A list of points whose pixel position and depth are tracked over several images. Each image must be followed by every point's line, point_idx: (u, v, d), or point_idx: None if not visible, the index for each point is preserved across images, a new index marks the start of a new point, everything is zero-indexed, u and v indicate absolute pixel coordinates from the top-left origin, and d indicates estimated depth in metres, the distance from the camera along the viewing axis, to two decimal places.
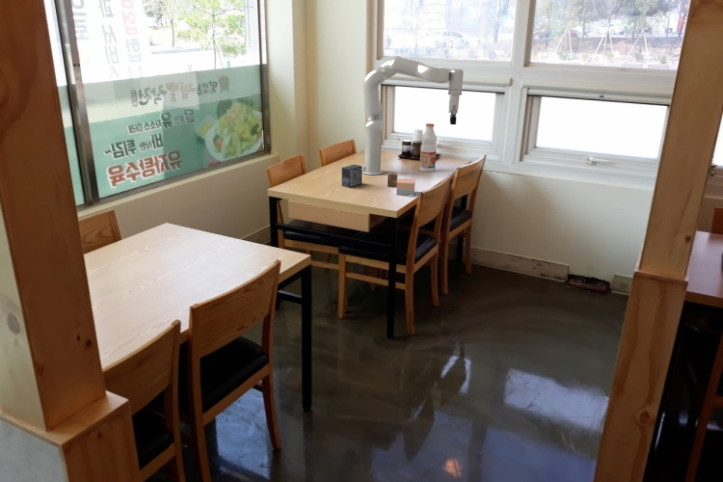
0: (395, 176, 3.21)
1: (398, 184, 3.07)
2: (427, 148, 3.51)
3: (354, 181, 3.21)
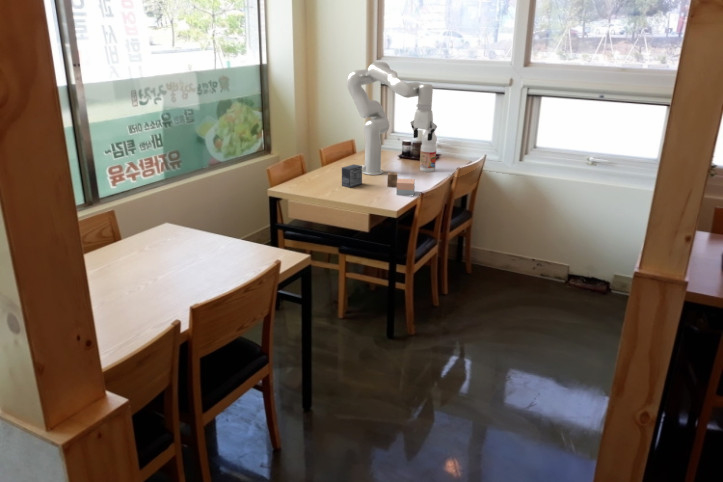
0: (395, 176, 3.21)
1: (398, 184, 3.07)
2: (427, 148, 3.51)
3: (354, 181, 3.21)
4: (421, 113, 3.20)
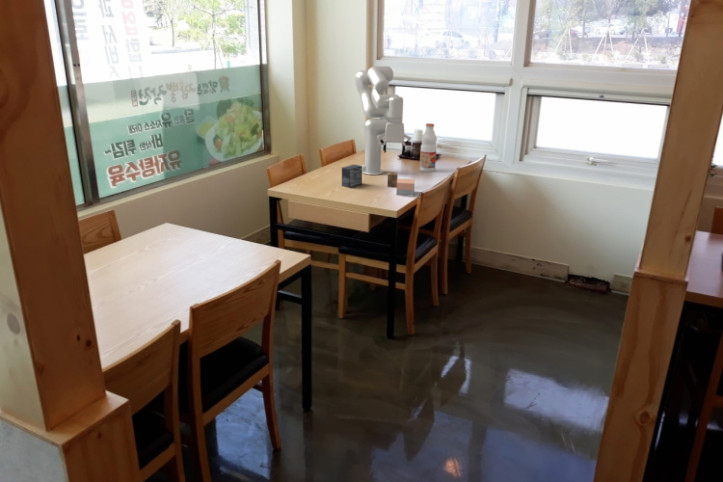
0: (395, 176, 3.21)
1: (398, 184, 3.06)
2: (427, 148, 3.51)
3: (354, 181, 3.21)
4: (394, 127, 3.11)
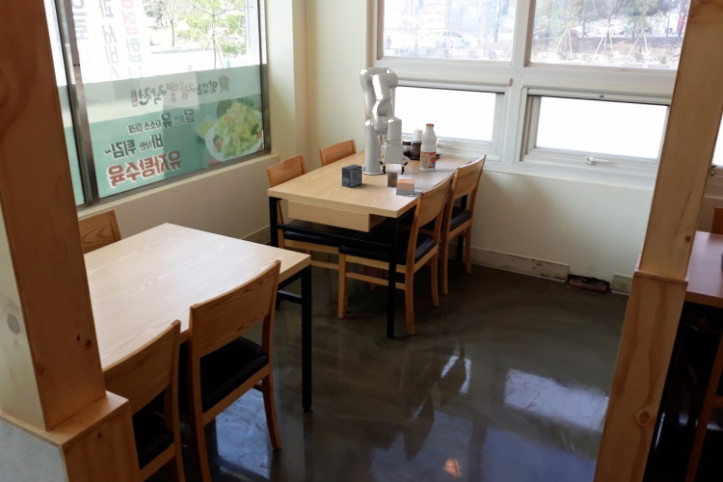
0: (395, 176, 3.21)
1: (398, 184, 3.06)
2: (427, 148, 3.51)
3: (354, 181, 3.21)
4: (393, 148, 3.15)
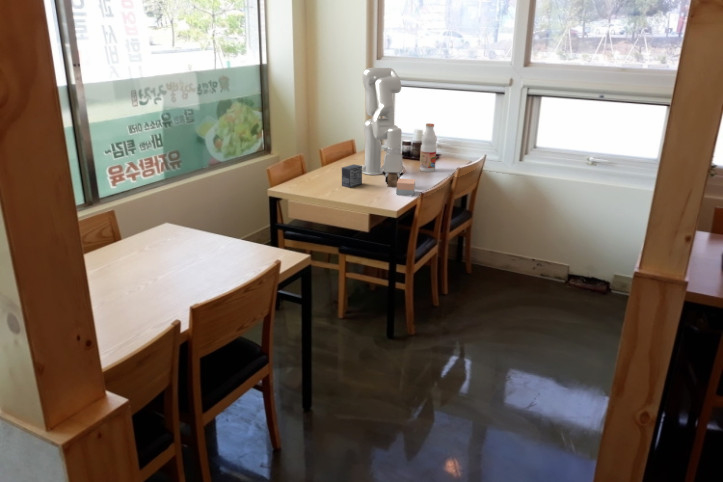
0: (395, 176, 3.21)
1: (398, 184, 3.07)
2: (427, 148, 3.51)
3: (354, 181, 3.21)
4: (393, 157, 3.17)
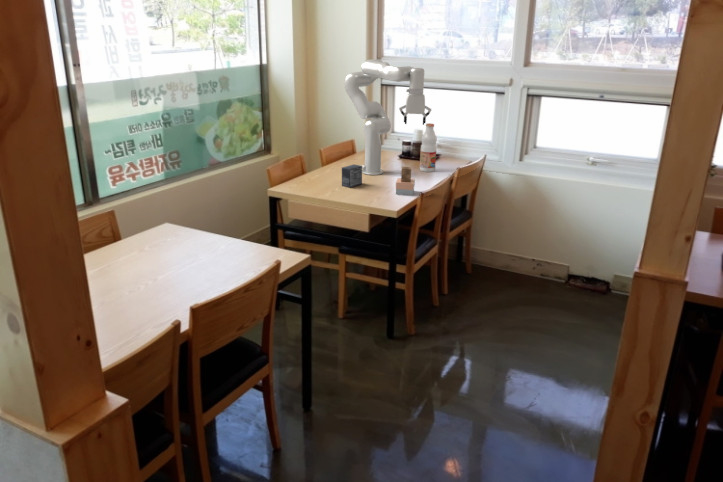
0: (409, 170, 3.06)
1: (397, 184, 3.08)
2: (427, 148, 3.51)
3: (354, 181, 3.21)
4: (415, 98, 3.16)
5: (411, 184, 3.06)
